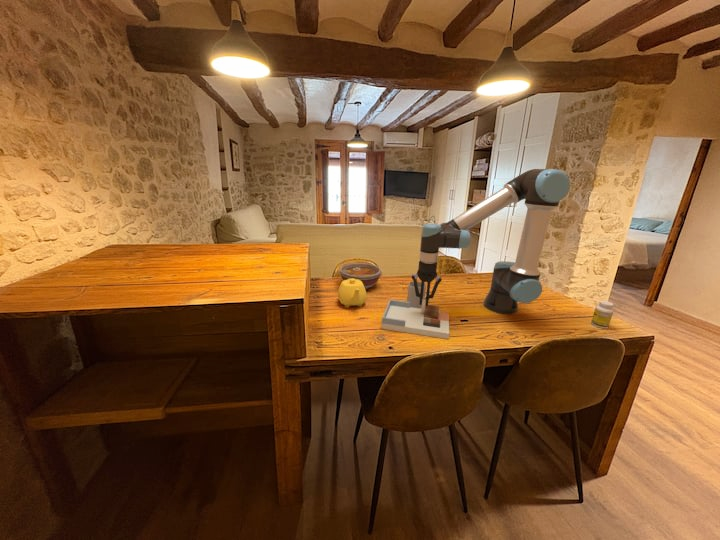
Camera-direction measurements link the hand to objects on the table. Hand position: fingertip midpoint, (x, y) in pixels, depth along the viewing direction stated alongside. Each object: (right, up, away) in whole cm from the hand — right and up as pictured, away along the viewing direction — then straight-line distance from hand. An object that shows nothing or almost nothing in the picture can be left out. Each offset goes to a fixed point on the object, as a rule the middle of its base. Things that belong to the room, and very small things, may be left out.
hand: (423, 311), depth 134 cm
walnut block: (+3, -2, -2) cm, 4 cm away
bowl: (-28, +9, +36) cm, 47 cm away
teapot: (-32, +1, +12) cm, 34 cm away
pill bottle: (+78, -6, -1) cm, 78 cm away
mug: (-1, +2, +15) cm, 16 cm away
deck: (-4, -5, -3) cm, 7 cm away
